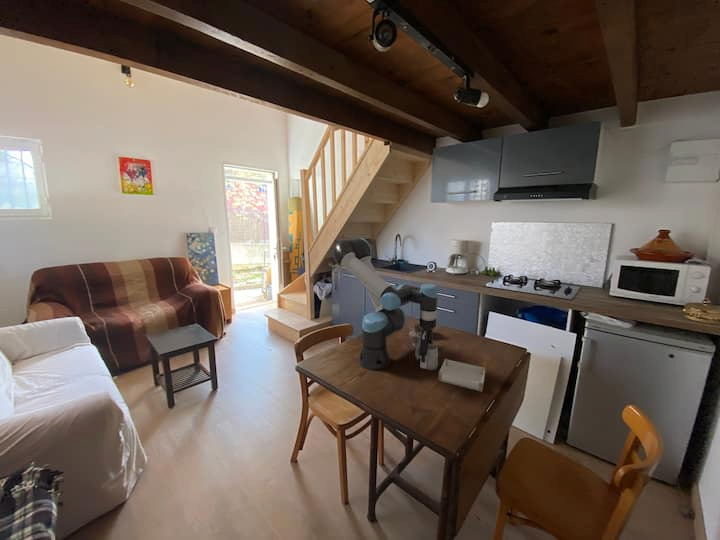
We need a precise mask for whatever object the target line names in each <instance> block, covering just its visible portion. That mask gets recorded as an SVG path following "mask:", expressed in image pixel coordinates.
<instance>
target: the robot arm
mask: <svg viewBox="0 0 720 540" xmlns="http://www.w3.org/2000/svg"><path fill="white" fill-rule="evenodd" d="M331 253H332V257H333V259H334V260H333V261H334V262H335V263H336V264H337V265H338V266H339V267H340V268H342V270H343V269H344V270H345V269H346V270H347V271H348V272H349V273H350V274H351V275H353V276H354V277H355V278H356V279H357V280H358V281H360V282H361V283H362V285H364V287H365V290H366V291H367V294H368V295H369V297H370V299H371V302H372V304H373V306H374V308H375V310H374V312H373V311H372V312H369V313H367V314H365V315H364V316H363V318H362V324H361V327H362V330H361V331H362V336H361V337H362V347H361V349H360V353H359V355H358V363H359V365H360V366H362V367H363V368H365V369H368V370H381V369H386V368H387V367H388V366H389V365H390V364H391V356H390V353H389V350H388V337H390V336H392V335H394V334H396V333H399V332H401V330H403V329H404V328H405V326H406V325H407V315H406V313H405V311H404V310H403V308H400V307H402V306H405V305H408V304H410V303H413V304H419V325H420V327H422V328H423V330H422V334H421V343H420V348H419V355H420V356H421V358H420V364H419V367H420V368H421V369H426V366H427V347H428V344H433V339H434V331H433V328H435V329H436V326H437V315H439V313H438V311H437V310H438V299H439V297H438V296H439V292H438V291H439V289H438V287H437V285H435V284H432V283H425V284H424V283H423V284H421V286H420V287H418V286H414V285H409V284H400V285H398V287H396V288H394V287H393V286H391V285H390V284H389V283H388V282H387V281H386V280H384V279H383V278H382V277H381V276H379V274H378V273H377V270H375V267H374V266H373V263H372V261H371V260H372V246H371V244H370V243H369V241H368V240H366V239H364V238H359V237H355V238H352V239H351V238H350V239H341V240H338V241H337V242H336V243H335V244H334V246H333V248H332V252H331ZM426 370H427V369H426Z"/></svg>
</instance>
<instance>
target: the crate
mask: <svg viewBox="0 0 720 540" xmlns="http://www.w3.org/2000/svg"><path fill="white" fill-rule="evenodd" d="M437 377H438V379H437V380H438V381H439V382H442V383H445V384H446V383H447V384H450V385H454V386H457V387H461V388H465V389H469V390H473V391H477V392H481V393H483V389H484V384H485V377H486V367H484V366H478V365H473V364H469V363H465V362H460V361H455V360H451V359H448V358H444V360H443V363H442V364H441V368H440V369H439V371H438V375H437Z"/></svg>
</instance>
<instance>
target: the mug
mask: <svg viewBox="0 0 720 540" xmlns="http://www.w3.org/2000/svg"><path fill="white" fill-rule="evenodd" d="M420 343H421V339H420V338H419V339H418V344H417V346H416V347H415V349H414V354H415V357H416V360H419V359H420V360H421V356H420V355H419V353H420ZM438 351H439V350H438V346H437V345H436V344H428V347H427V366H426V370H429V371H433V370H436V369H438V367H439V361H438V357H439V352H438Z"/></svg>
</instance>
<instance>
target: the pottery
mask: <svg viewBox="0 0 720 540" xmlns="http://www.w3.org/2000/svg"><path fill="white" fill-rule="evenodd" d="M413 328H414V329H412V330H411V331H409V333H408V335H409V338H410V342H412V346H414V348H416V346H417V344H418V339H419V338H420V339H421V334H422V330H423V328H422V327H420V325H419V321H417V322H415V323H413ZM435 329H436V327H435V328H433V332H434V331H435Z"/></svg>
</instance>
